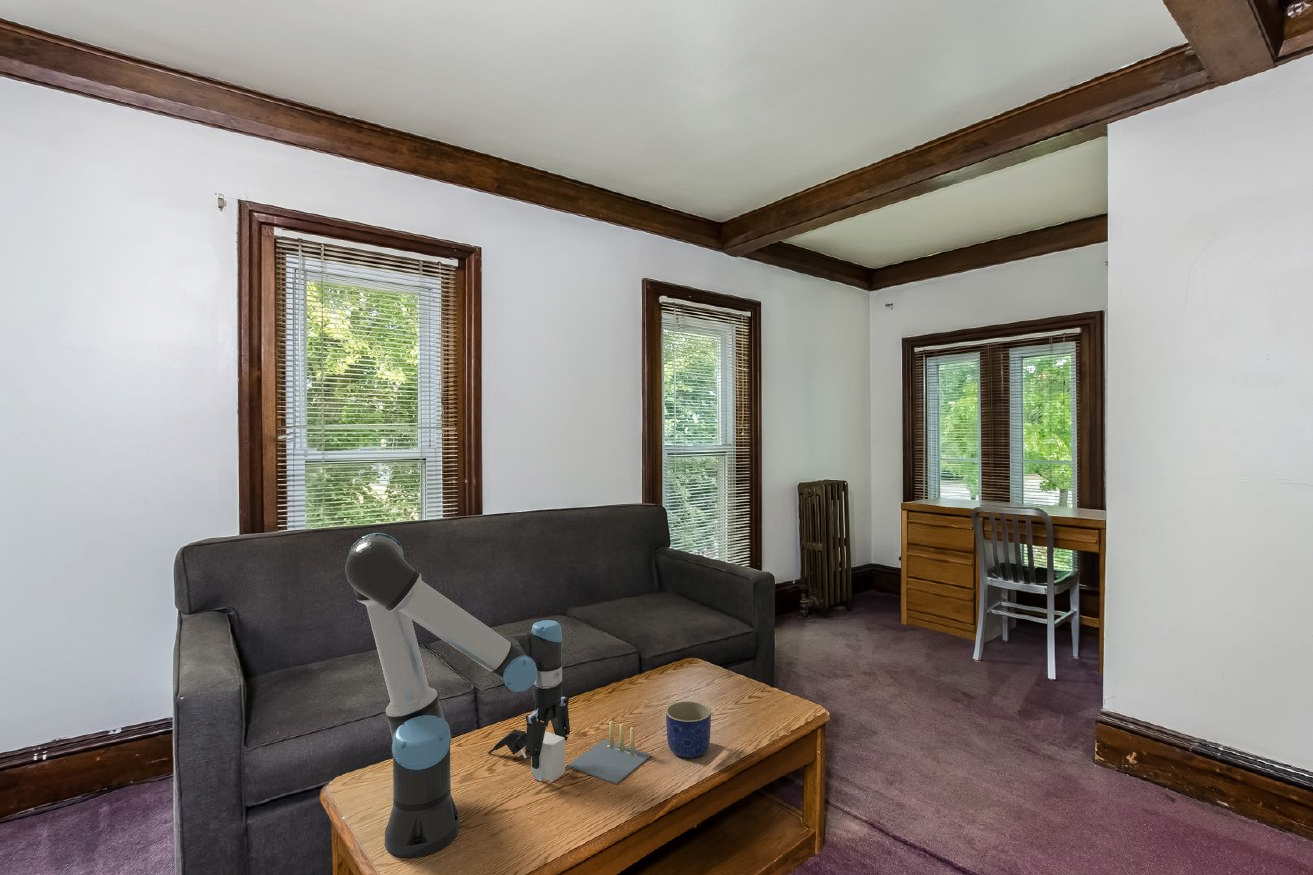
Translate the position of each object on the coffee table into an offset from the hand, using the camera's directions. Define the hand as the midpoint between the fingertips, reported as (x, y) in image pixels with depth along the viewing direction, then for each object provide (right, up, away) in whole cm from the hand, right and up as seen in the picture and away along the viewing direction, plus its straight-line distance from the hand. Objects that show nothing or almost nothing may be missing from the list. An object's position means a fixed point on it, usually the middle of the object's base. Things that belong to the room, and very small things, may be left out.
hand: (548, 771), depth 157 cm
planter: (+37, 0, +11) cm, 38 cm away
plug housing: (0, 0, 0) cm, 0 cm away
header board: (+15, 0, +5) cm, 16 cm away
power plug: (-16, -3, +9) cm, 19 cm away
